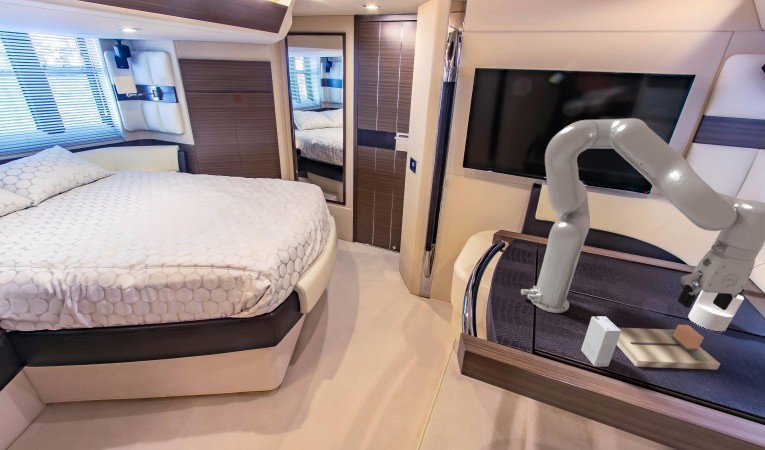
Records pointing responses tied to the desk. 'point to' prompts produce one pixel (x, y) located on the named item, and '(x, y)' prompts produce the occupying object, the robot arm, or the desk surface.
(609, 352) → the skincare box
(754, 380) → the desk surface
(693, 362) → the fader board
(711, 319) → the cylinder with rectangular tab
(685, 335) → the fader tab
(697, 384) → the desk surface
